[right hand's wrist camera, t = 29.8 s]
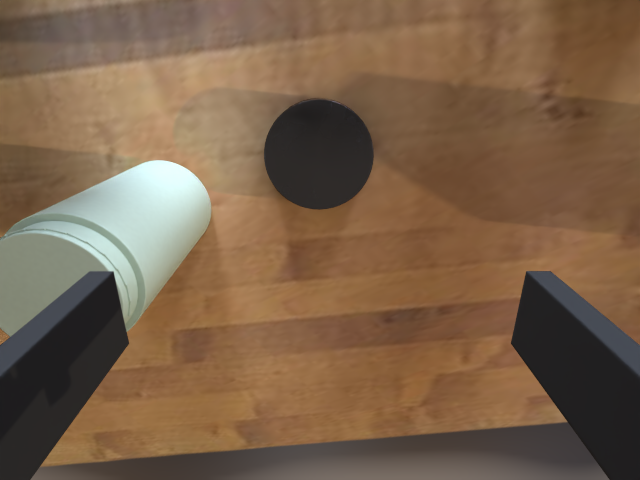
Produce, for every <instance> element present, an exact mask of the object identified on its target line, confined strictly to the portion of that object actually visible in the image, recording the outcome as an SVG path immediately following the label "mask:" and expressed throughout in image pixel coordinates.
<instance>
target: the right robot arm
mask: <svg viewBox="0 0 640 480" xmlns="http://www.w3.org/2000/svg"><path fill="white" fill-rule="evenodd" d="M128 344H129V341H128V336H127V332H126V327H125V322H124V318H123V313H122V308H121V304H120V299H119V294H118V289H117V285H116V280H115V275H114V271H89V272H88V273H87V274H86V275H84V276H83V277H82V278H81V279H80V280H78V281H77V282H76V283H75V284H74V285H72V286H71V287H70V288H69V289H68V290H66V291H65V292H64V293H63V294H62V295H60V296H59V297H58V298H57V299H56V300H54V301H53V302H52V303H51V304H50V305H48V306H47V307H46V308H45V309H43V310H42V311H41V312H40V313H39V314H37V315H36V316H35V317H34V318H33V319H31V320H30V321H29V322H28V323H27V324H25V325H24V326H23V327H22V328H21V329H19V330H18V331H17V332H16V333H15V334H13V335H12V336H11V337H10V338H9V339H7V340H6V341H5V342H4V343H3V344H1V345H0V480H30V479H31V478H32V476H33V475H34V474H35V472H36V471H37V470H38V468H39V467H40V466H41V464H42V463H43V461H44V460H45V459H46V457H47V456H48V454H49V453H50V452H51V450H52V449H53V448H54V446H55V445H56V443H57V442H58V441H59V439H60V438H61V437H62V435H63V434H64V432H65V431H66V430H67V428H68V427H69V426H70V424H71V423H72V421H73V420H74V419H75V417H76V416H77V414H78V413H79V412H80V410H81V409H82V408H83V406H84V405H85V403H86V402H87V401H88V399H89V398H90V397H91V395H92V394H93V392H94V391H95V390H96V388H97V387H98V386H99V384H100V383H101V381H102V380H103V379H104V377H105V376H106V374H107V373H108V372H109V370H110V369H111V368H112V366H113V365H114V363H115V362H116V361H117V359H118V358H119V357H120V355H121V354H122V352H123V351H124V350H125V348H126V347H127V346H128ZM511 344H512V346H513V347H514V348H515V350H516V351H517V352H518V354H519V355H520V357H521V358H522V359H523V361H524V362H525V363H526V365H527V366H528V368H529V369H530V370H531V372H532V373H533V374H534V376H535V377H536V379H537V380H538V381H539V383H540V384H541V386H542V387H543V388H544V390H545V391H546V392H547V394H548V395H549V397H550V398H551V399H552V401H553V402H554V403H555V405H556V406H557V408H558V409H559V410H560V412H561V413H562V414H563V416H564V417H565V419H566V420H567V421H568V423H569V424H570V425H571V427H572V428H573V430H574V431H575V432H576V434H577V435H578V437H579V438H580V439H581V441H582V442H583V443H584V445H585V446H586V448H587V449H588V450H589V452H590V453H591V454H592V456H593V457H594V459H595V460H596V461H597V463H598V464H599V466H600V467H601V468H602V470H603V471H604V472H605V474H606V475H607V477H608V478H609V479H610V480H640V345H639V344H637V343H636V342H635V341H634V340H633V339H631V338H630V337H629V336H628V335H627V334H625V333H624V332H623V331H622V330H621V329H619V328H618V327H617V326H616V325H615V324H613V323H612V322H611V321H610V320H609V319H607V318H606V317H605V316H604V315H603V314H601V313H600V312H599V311H598V310H597V309H595V308H594V307H593V306H592V305H590V304H589V303H588V302H587V301H586V300H584V299H583V298H582V297H581V296H580V295H578V294H577V293H576V292H575V291H574V290H572V289H571V288H570V287H569V286H568V285H566V284H565V283H564V282H563V281H562V280H560V279H559V278H558V277H557V276H556V275H554V274H553V273H552V272H551V271H526V275H525V280H524V285H523V289H522V294H521V299H520V304H519V308H518V313H517V318H516V322H515V327H514V332H513V336H512V341H511Z"/></svg>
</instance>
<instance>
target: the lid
mask: <svg viewBox="0 0 640 480" xmlns="http://www.w3.org/2000/svg"><path fill="white" fill-rule="evenodd" d="M373 157H374V155H373V144H372V140H371V136H370V134H369V131H368V129H367V127H366V126H365V124H364V123H363V121H362V120H361V119H360V118H359V116H358V115H357V114H355V113H354V112H353V111H352V110H351V109H350V108H348V107H347V106H345V105H343V104H341V103H339V102H337V101H334V100H330V99H324V98H314V99H308V100H304V101H301V102H298V103H296V104H294V105H293V106H291V107H290V108H288V109H287V110H285V111H284V112H283V113H282V114H281V115H280V116H279V117H278V118H277V120H276V121H275V122H274V124H273V125H272V127H271V129H270V131H269V133H268V136H267V139H266V142H265V149H264V159H265V166H266V170H267V173H268V175H269V178H270V180H271V182H272V183H273V185H274V186H275V188H276V189H277V190H278V191H279V192H280V193H281V194H282V195H283V196H284V197H285V198H286V199H288V200H289V201H291V202H293V203H295V204H297V205H299V206H302V207H305V208H310V209H328V208H333V207H336V206H339V205H341V204H343V203H345V202H347V201H348V200H350V199H352V198H353V197H354V196H355V195H356V194H357V193H358V192H359V191H360V190H361V189H362V187H363V186H364V185H365V183H366V181H367V179H368V177H369V175H370V172H371V169H372V165H373Z"/></svg>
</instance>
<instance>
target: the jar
mask: <svg viewBox="0 0 640 480" xmlns="http://www.w3.org/2000/svg"><path fill="white" fill-rule="evenodd" d="M210 218H211V203H210V199H209V196H208V193H207V191H206V189H205V187H204V186H203V184H202V183H201V182H200V180H199V179H198V178H197V177H196V176H195V175H194V174H193V173H191V172H190V171H189V170H187V169H186V168H184V167H182V166H180V165H178V164H175V163H172V162H168V161H149V162H145V163H142V164H140V165H138V166H135V167H133V168H131V169H129V170H127V171H125V172H123V173H121V174H118V175H116V176H114V177H112V178H110V179H108V180H106V181H103V182H101V183H99V184H97V185H95V186H93V187H91V188H89V189H86V190H84V191H82V192H80V193H78V194H76V195H74V196H71V197H69V198H67V199H65V200H63V201H61V202H59V203H57V204H54V205H52V206H50V207H48V208H46V209H44V210H42V211H39V212H37V213H35V214H33V215H31V216H29V217H27V218H25V219H23V220H21V221H19V222H18V223H16V224H15V225H14V226H12V227H11V228H10V229H9V230H8V231H7V232H6V234H5V235H4V236H3V237H1V238H0V328H1V329H2V330H3V331H4V332H5V333H6V334H8V335H9V336H10V337H11V336H12V335H13V334H15V333H16V332H17V331H18V330H19V329H21V328H22V327H23V326H24V325H25V324H27V323H28V322H29V321H30V320H31V319H33V318H34V317H35V316H36V315H37V314H39V313H40V312H41V311H42V310H43V309H45V308H46V307H47V306H48V305H50V304H51V303H52V302H53V301H54V300H56V299H57V298H58V297H59V296H60V295H62V294H63V293H64V292H65V291H66V290H68V289H69V288H70V287H71V286H72V285H74V284H75V283H76V282H77V281H78V280H80V279H81V278H82V277H83V276H84V275H86V274H87V273H88V272H89V271H114V275H115V280H116V285H117V289H118V294H119V299H120V304H121V308H122V313H123V318H124V322H125V327H126V332H127V331H129V330H130V329H131V328H132V327H133V326H134V325H135V323H136V322H137V321H138V320H139V318H140V317H141V316H142V314H143V313H144V312H145V310H146V309H147V308H148V306H149V305H150V304H151V302H152V301H153V300H154V298H155V297H156V296H157V295H158V293H159V292H160V291H161V289H162V288H163V287H164V285H165V284H166V283H167V281H168V280H169V279H170V277H171V276H172V275H173V273H174V272H175V271H176V269H177V268H178V267H179V265H180V264H181V263H182V262H183V260H184V259H185V258H186V256H187V255H188V254H189V252H190V251H191V250H192V248H193V247H194V246H195V244H196V243H197V242H198V240H199V239H200V238H201V236H202V235H203V234H204V232H205V231H206V229H207V227H208V225H209V222H210Z"/></svg>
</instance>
